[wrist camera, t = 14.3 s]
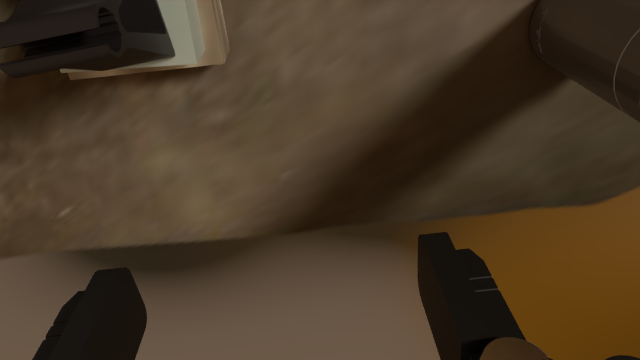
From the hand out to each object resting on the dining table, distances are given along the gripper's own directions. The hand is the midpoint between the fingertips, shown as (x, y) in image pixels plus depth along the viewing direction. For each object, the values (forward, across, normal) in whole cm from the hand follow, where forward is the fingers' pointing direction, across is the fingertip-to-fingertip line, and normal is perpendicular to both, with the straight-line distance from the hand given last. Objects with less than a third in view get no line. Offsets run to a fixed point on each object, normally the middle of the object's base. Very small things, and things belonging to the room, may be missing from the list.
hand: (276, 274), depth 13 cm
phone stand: (+28, +12, -4) cm, 31 cm away
